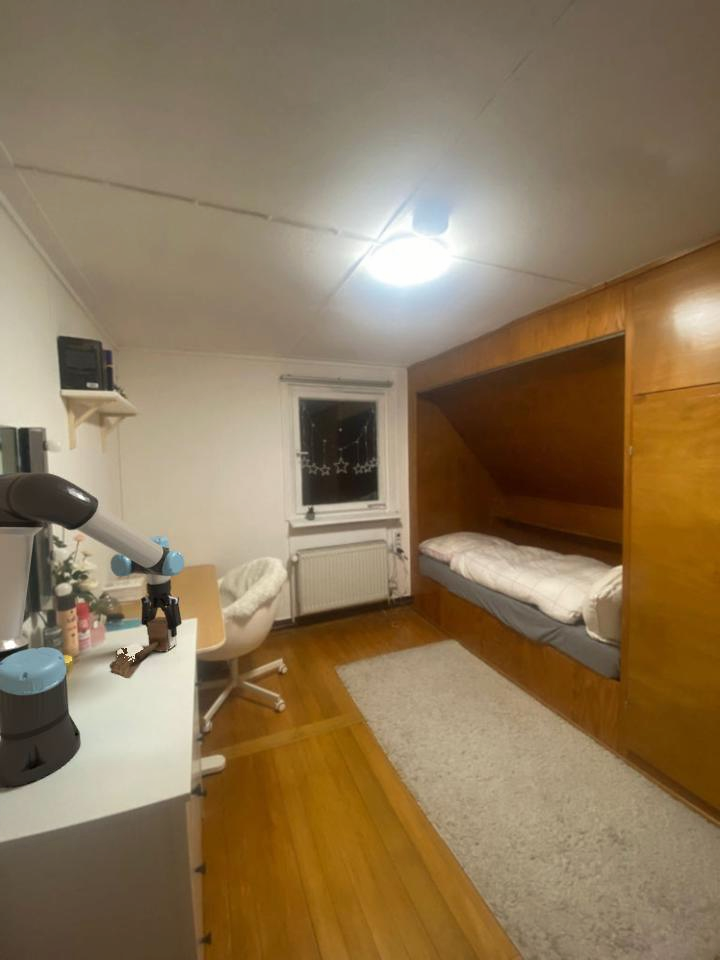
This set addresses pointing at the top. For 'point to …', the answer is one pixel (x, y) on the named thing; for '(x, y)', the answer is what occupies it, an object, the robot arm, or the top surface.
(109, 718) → the top surface
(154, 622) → the marking gauge
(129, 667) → the wooden fragment
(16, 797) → the top surface
